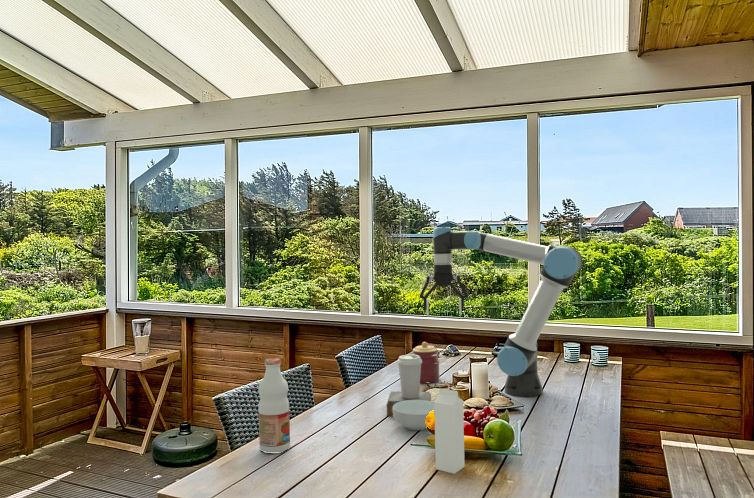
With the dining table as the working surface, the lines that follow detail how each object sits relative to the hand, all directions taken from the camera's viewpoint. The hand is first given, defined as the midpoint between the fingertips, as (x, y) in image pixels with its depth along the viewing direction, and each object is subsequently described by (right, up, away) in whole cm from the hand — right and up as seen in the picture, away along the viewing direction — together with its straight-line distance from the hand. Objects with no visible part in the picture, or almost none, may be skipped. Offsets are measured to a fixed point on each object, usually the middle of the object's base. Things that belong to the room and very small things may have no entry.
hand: (444, 314), depth 230 cm
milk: (-8, -34, -76) cm, 84 cm away
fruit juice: (-60, -35, -58) cm, 91 cm away
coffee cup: (-15, -28, -22) cm, 39 cm away
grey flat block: (-16, -33, -22) cm, 43 cm away
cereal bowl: (-14, -34, -41) cm, 55 cm away
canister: (-6, -33, +22) cm, 40 cm away
